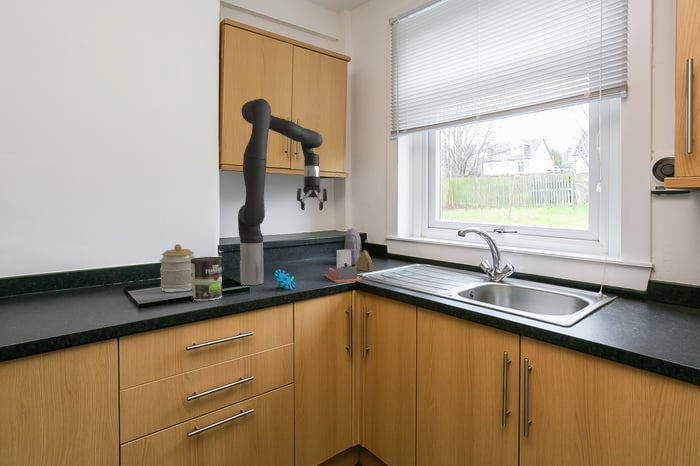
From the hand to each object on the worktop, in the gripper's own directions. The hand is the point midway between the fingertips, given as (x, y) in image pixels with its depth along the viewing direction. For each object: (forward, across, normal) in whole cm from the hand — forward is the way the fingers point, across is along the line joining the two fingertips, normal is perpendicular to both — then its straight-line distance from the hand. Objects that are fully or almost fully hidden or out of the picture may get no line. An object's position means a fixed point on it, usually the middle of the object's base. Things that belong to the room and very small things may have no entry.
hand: (312, 210), depth 180 cm
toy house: (+30, +26, -2) cm, 40 cm away
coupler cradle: (+30, +9, -18) cm, 36 cm away
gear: (+30, -19, -29) cm, 46 cm away
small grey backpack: (+30, +28, +16) cm, 44 cm away
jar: (+30, -58, -15) cm, 67 cm away
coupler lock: (+29, +9, -19) cm, 36 cm away
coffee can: (+30, -48, -33) cm, 66 cm away
